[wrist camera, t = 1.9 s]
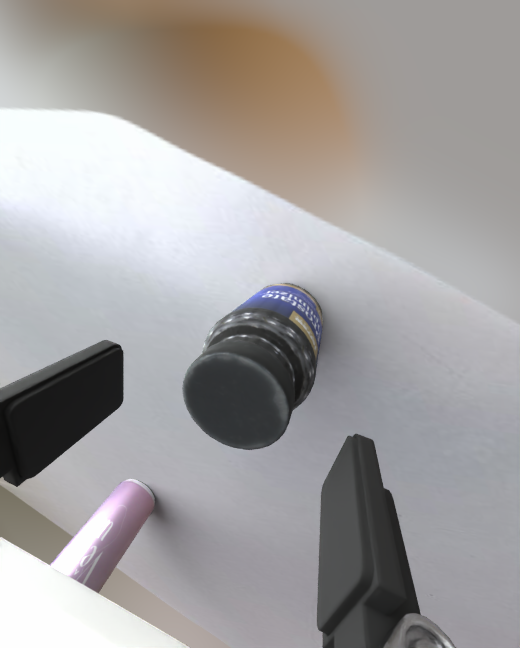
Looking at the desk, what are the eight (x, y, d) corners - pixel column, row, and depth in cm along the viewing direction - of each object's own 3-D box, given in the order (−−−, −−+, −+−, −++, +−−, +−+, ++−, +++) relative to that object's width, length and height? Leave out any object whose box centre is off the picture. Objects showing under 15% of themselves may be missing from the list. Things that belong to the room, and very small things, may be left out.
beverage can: (118, 490, 36) (-11, 643, 23) (127, 469, 34) (-13, 628, 20) (150, 513, 36) (39, 683, 22) (162, 494, 33) (44, 673, 20)
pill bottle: (339, 307, 18) (345, 397, 8) (297, 366, 21) (264, 487, 11) (268, 266, 19) (193, 304, 9) (236, 328, 21) (150, 412, 11)
